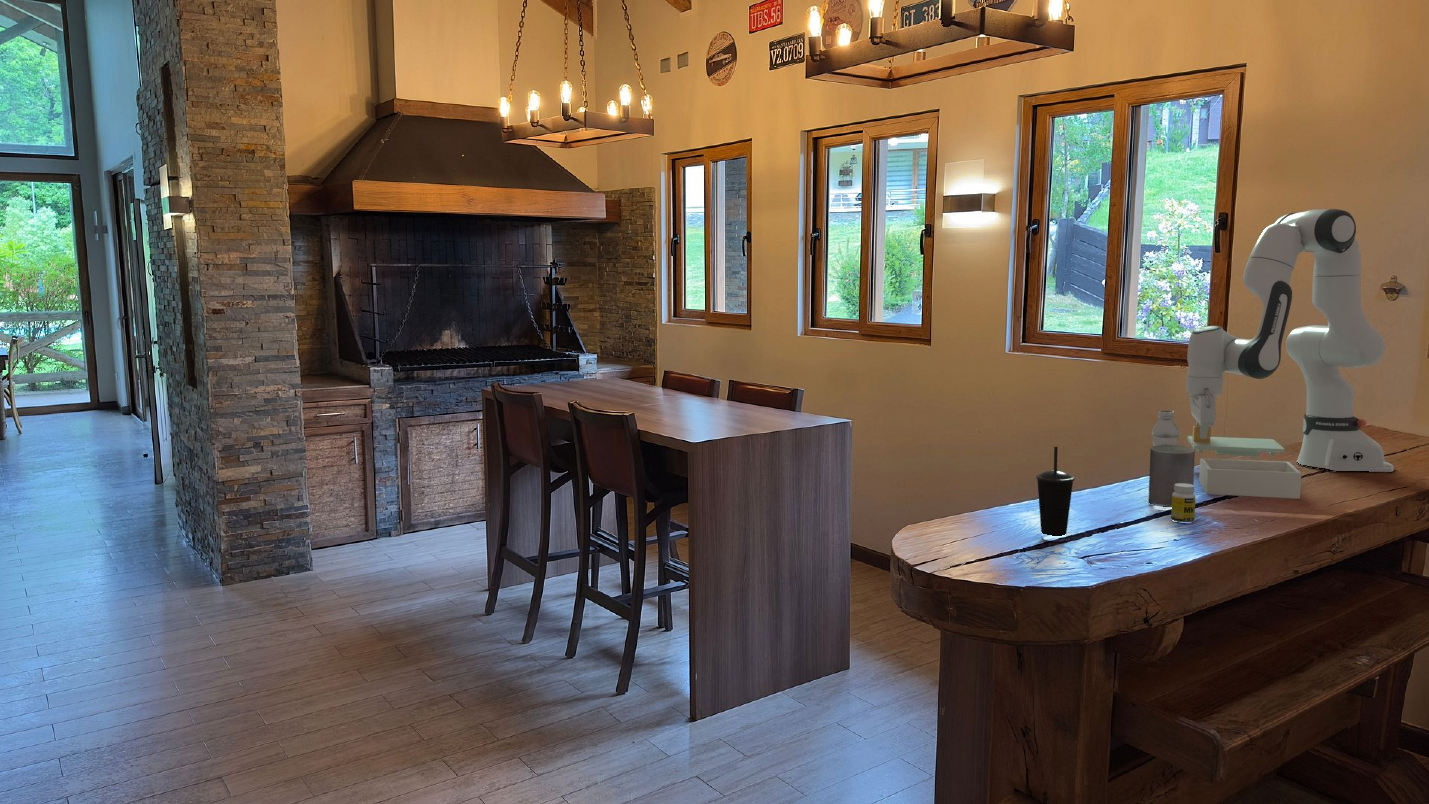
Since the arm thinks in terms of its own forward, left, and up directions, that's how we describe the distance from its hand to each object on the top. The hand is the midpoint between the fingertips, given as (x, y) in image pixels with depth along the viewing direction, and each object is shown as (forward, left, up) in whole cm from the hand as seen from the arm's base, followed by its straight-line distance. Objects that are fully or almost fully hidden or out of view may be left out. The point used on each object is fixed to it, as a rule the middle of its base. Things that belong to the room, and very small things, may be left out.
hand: (1201, 437), depth 258 cm
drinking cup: (+37, +76, -10) cm, 85 cm away
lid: (-8, 0, -4) cm, 9 cm away
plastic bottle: (+11, +20, -10) cm, 25 cm away
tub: (-8, +21, -10) cm, 25 cm away
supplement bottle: (+10, +54, -11) cm, 56 cm away
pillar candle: (+11, +38, -11) cm, 41 cm away
